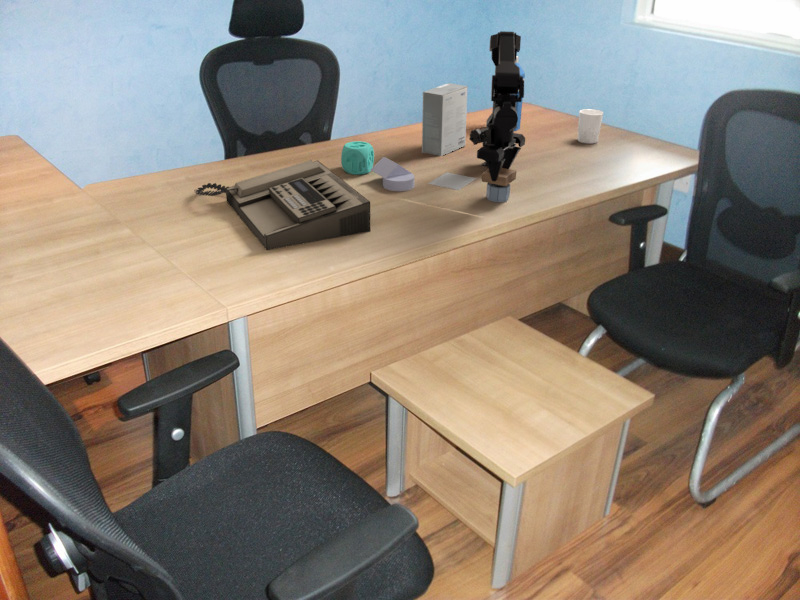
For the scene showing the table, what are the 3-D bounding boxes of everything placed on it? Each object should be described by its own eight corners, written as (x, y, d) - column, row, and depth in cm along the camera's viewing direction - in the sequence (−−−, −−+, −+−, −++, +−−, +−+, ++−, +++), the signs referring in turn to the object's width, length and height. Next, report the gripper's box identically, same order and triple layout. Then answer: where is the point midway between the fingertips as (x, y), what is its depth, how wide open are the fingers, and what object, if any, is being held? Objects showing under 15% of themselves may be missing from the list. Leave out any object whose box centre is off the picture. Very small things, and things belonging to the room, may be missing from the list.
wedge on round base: (370, 181, 218) (392, 194, 208) (370, 158, 215) (393, 171, 205) (396, 176, 222) (420, 189, 212) (397, 154, 219) (420, 166, 209)
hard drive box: (446, 142, 253) (449, 82, 244) (465, 146, 250) (469, 85, 240) (420, 153, 242) (422, 91, 233) (440, 157, 238) (442, 94, 229)
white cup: (601, 144, 254) (605, 115, 249) (578, 144, 254) (581, 114, 249) (596, 137, 260) (600, 109, 256) (573, 137, 260) (577, 108, 256)
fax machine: (189, 195, 207) (185, 162, 202) (306, 178, 221) (305, 146, 216) (234, 257, 172) (230, 219, 167) (370, 232, 185) (370, 196, 181)
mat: (446, 173, 225) (446, 172, 224) (476, 179, 220) (476, 178, 220) (427, 184, 216) (427, 183, 215) (458, 191, 211) (458, 190, 211)
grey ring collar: (492, 194, 209) (493, 179, 207) (511, 198, 207) (513, 183, 205) (483, 201, 205) (484, 185, 203) (503, 205, 202) (504, 189, 200)
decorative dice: (341, 173, 224) (340, 147, 220) (349, 165, 230) (348, 140, 227) (367, 176, 222) (366, 149, 218) (374, 167, 229) (374, 142, 225)
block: (492, 174, 207) (492, 166, 206) (515, 178, 204) (516, 170, 203) (481, 181, 202) (482, 173, 201) (505, 186, 199) (506, 177, 198)
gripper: (490, 108, 206) (486, 163, 213) (460, 123, 192) (457, 181, 199) (528, 114, 201) (523, 169, 209) (500, 130, 187) (495, 189, 194)
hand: (499, 177), depth 203 cm, fingers closed on block, 7 cm apart
